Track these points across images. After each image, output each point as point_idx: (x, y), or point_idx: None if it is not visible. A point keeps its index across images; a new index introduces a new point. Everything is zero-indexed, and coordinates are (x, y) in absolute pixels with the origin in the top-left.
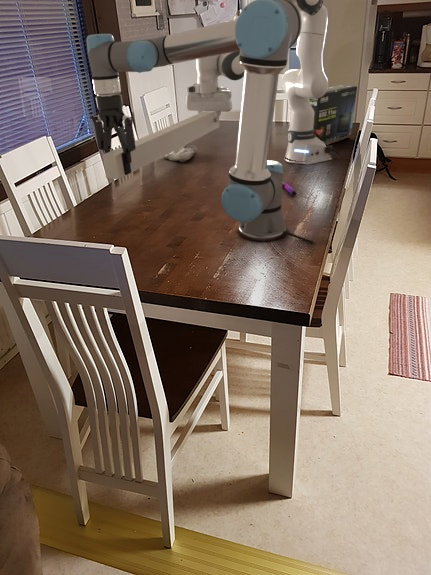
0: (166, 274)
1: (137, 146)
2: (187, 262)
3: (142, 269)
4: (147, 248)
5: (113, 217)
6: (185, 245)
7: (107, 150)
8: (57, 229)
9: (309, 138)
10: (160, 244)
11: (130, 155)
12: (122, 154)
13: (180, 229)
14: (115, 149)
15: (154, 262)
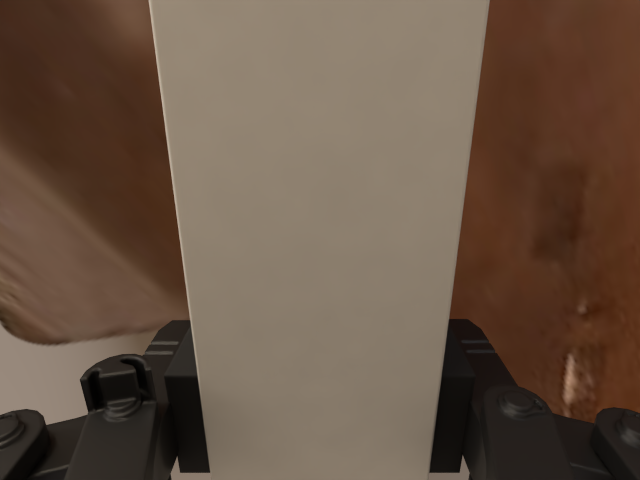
0: (590, 398)
1: (485, 23)
2: (635, 327)
3: None
4: (471, 291)
5: None
6: (600, 228)
7: (169, 472)
8: (47, 273)
9: None
10: (505, 251)
11: (507, 378)
12: (438, 464)
13: (538, 99)
14: (213, 358)
15: (532, 358)
